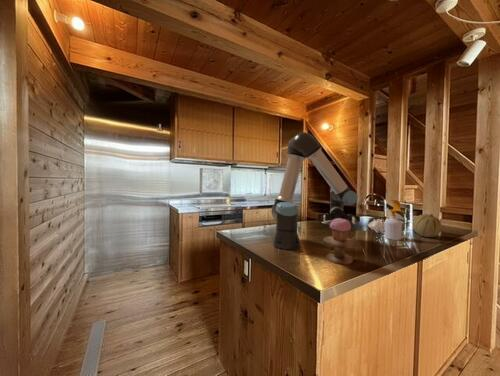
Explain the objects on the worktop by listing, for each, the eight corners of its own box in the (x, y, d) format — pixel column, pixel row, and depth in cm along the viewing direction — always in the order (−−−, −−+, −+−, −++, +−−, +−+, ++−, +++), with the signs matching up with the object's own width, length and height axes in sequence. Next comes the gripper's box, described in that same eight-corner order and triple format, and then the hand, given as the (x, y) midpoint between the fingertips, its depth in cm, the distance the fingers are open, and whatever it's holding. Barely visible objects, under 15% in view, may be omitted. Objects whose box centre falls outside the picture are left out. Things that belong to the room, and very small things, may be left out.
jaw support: (393, 229, 147) (382, 219, 148) (383, 238, 148) (373, 228, 149) (386, 226, 158) (376, 216, 160) (377, 234, 160) (367, 225, 161)
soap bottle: (380, 237, 139) (381, 199, 138) (391, 236, 142) (392, 198, 141) (394, 240, 130) (395, 200, 129) (405, 239, 133) (406, 199, 132)
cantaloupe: (418, 233, 150) (418, 211, 150) (445, 237, 138) (446, 214, 137) (408, 235, 143) (408, 213, 142) (435, 241, 130) (436, 216, 130)
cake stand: (330, 265, 91) (330, 244, 91) (318, 254, 105) (319, 236, 105) (362, 265, 91) (363, 244, 91) (347, 254, 105) (347, 236, 105)
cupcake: (337, 236, 104) (338, 216, 104) (354, 241, 97) (355, 218, 96) (325, 239, 99) (326, 217, 99) (342, 244, 92) (343, 220, 91)
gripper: (361, 222, 121) (367, 230, 101) (314, 219, 129) (312, 226, 109) (361, 208, 121) (368, 214, 101) (314, 206, 129) (312, 211, 109)
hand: (339, 220), depth 105 cm, fingers open, 13 cm apart
